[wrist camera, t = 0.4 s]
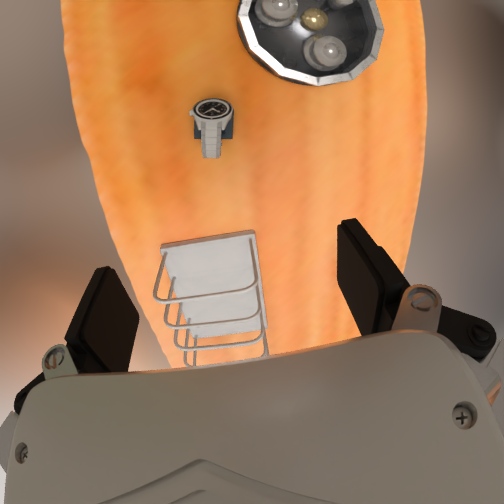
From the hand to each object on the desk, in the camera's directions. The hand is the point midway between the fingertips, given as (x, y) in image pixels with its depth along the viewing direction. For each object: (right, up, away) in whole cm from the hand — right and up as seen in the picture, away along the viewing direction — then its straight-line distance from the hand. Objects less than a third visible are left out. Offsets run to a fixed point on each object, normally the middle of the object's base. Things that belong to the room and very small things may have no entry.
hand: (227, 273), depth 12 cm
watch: (-5, +21, +29) cm, 36 cm away
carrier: (+10, +35, +21) cm, 42 cm away
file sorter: (-6, -6, +48) cm, 49 cm away
